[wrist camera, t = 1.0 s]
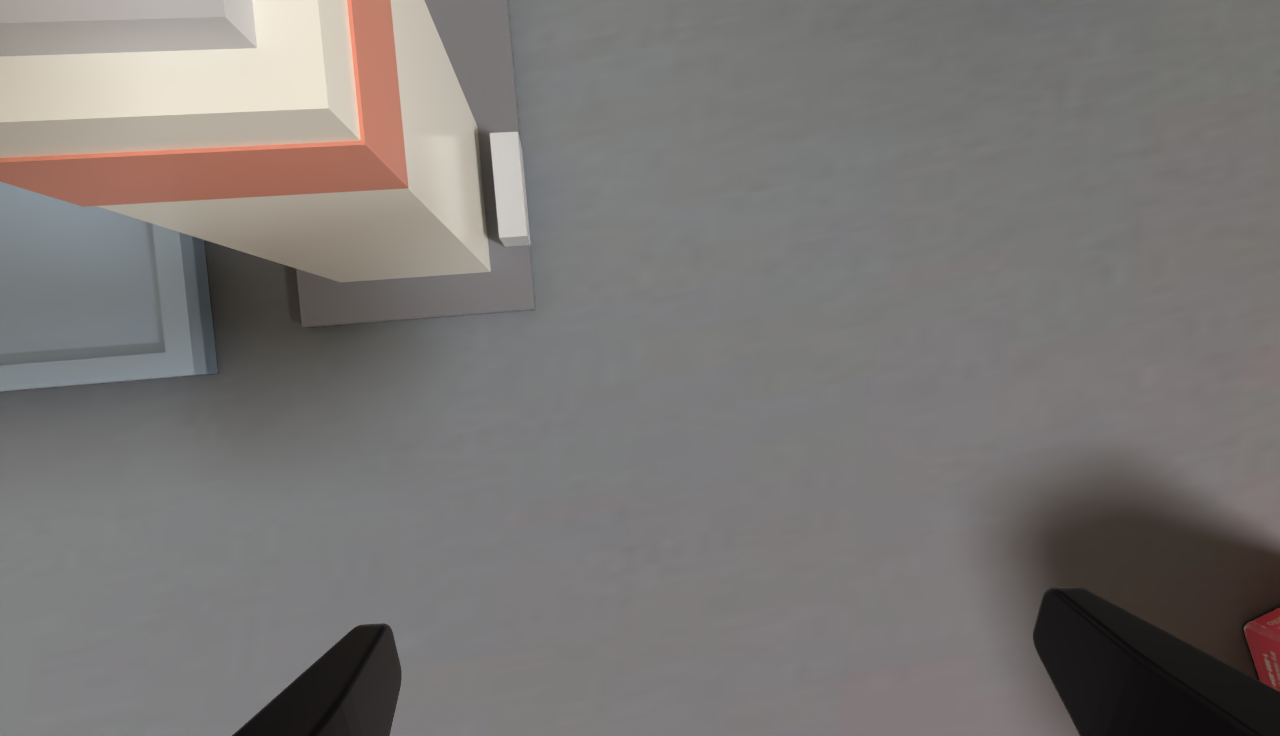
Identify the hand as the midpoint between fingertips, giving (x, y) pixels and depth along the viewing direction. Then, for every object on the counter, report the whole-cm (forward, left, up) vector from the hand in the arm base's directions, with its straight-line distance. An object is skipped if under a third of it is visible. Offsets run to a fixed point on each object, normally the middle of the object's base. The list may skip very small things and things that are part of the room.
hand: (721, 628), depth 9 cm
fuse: (-1, +11, -12) cm, 16 cm away
